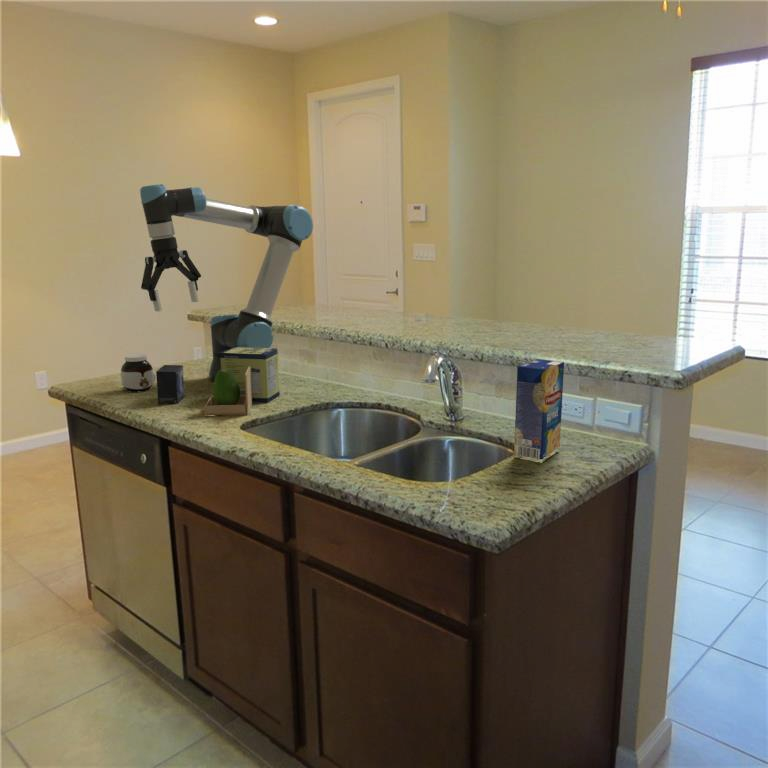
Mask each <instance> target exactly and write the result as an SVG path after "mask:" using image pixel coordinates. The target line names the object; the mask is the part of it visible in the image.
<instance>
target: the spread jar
mask: <svg viewBox="0 0 768 768" xmlns="http://www.w3.org/2000/svg"><path fill="white" fill-rule="evenodd" d="M124 361H125V362H123V364H122V366H121V369H120V376H121V377H120V378H121V384H122V387H123V388H124V389H125V390H126V391H127V392H129V391H131V392H130V393H139V392H138V391H143V392H146V391H145V390H147V391H149V390H150V389H152V387H153V386H154V382H155V381H156V379H157V377H156V372H155V371H154V368H153V366H152V364H151V363H150V362H149V361H148V360H147V354H145V353H144V354H143V353H134V354H127V355H125V356H124Z"/></svg>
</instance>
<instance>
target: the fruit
mask: <svg viewBox="0 0 768 768" xmlns="http://www.w3.org/2000/svg"><path fill="white" fill-rule="evenodd" d="M212 397H214V400H215V402H216V404H217V405H236V403H237V402H238V400H239V397H240V387H239V385H238V383H237V381H236V379H235V377H234V375H233V374H232V373H231V371H230V370H228V369H221V370H219V371H218V372H217V374H216V377H215V381H214V382H213V388H212Z"/></svg>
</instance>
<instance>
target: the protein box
mask: <svg viewBox="0 0 768 768" xmlns="http://www.w3.org/2000/svg"><path fill="white" fill-rule="evenodd" d="M278 357H279V356H278V348H274V347H273V348H272V347H270V348H240V347H233V348H231V349H228V350H226V351H223V352H220V359H221V369H228V370H230V371H231V373H232V374H233V375H234V377H235V379H236V381H237V383H238V385H239V387H240V396H246V388H245V373H246V371H247V369H248V367H250V371H251V392H252V403H260V404H263V403H265V404H268V403H270V402H271V401H273V400H274V399H276V398H278V397H279V396H280V395H281V394H280V380H279V379H280V378H279V375H280V374H279V361H278V360H279V358H278Z"/></svg>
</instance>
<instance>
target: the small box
mask: <svg viewBox="0 0 768 768" xmlns="http://www.w3.org/2000/svg"><path fill="white" fill-rule="evenodd" d="M155 374H156V390H157V393H156V394H157V404H158V403H177V404H178V403H180V402H181V400H182V399H184V397H185V395H186V394H185V378H184V365H183V364H181V365H180V364H177V365H176V364H164V365H163V366H161V367H160V368H159V369H157V370H156V372H155Z"/></svg>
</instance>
